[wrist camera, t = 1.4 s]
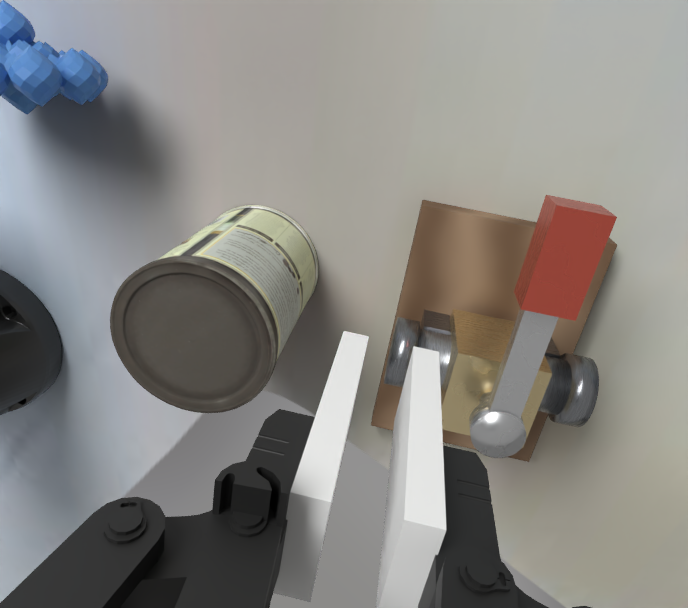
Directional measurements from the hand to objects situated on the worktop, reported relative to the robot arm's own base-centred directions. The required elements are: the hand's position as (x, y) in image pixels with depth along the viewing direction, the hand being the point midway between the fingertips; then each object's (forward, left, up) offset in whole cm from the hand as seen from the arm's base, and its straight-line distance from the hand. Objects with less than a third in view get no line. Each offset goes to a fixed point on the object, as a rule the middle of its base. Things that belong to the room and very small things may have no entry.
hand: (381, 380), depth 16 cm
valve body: (+8, -10, -24) cm, 28 cm away
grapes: (-27, +5, -27) cm, 38 cm away
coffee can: (-11, -8, -27) cm, 30 cm away
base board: (+8, -10, -26) cm, 29 cm away
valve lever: (+8, -4, -14) cm, 17 cm away
